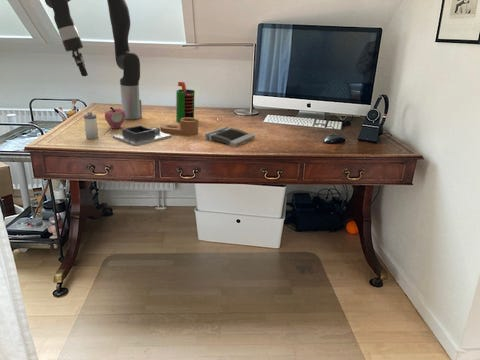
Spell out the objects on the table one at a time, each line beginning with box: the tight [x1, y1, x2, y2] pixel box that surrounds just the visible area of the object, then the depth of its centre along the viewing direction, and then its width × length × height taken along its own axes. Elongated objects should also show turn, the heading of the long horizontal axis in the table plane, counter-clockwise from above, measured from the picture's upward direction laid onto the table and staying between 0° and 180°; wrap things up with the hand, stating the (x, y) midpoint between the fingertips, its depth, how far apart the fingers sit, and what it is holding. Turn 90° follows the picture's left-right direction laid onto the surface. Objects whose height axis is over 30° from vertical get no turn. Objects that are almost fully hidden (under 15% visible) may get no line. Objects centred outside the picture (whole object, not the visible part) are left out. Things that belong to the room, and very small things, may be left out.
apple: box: [104, 106, 126, 129], centre depth 185 cm, size 10×9×10 cm
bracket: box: [159, 117, 199, 137], centre depth 183 cm, size 18×8×7 cm, turn 80°
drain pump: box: [83, 111, 99, 140], centre depth 168 cm, size 5×5×12 cm
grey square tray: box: [204, 125, 255, 147], centre depth 179 cm, size 17×5×16 cm
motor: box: [175, 81, 195, 123], centre depth 202 cm, size 10×9×20 cm
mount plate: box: [112, 125, 172, 147], centre depth 174 cm, size 20×16×4 cm
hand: (85, 75), depth 174 cm, fingers open, 8 cm apart
